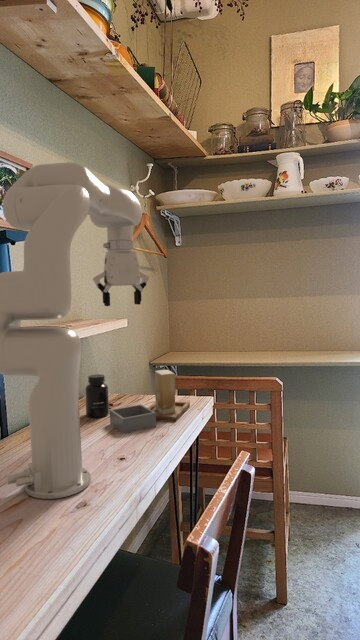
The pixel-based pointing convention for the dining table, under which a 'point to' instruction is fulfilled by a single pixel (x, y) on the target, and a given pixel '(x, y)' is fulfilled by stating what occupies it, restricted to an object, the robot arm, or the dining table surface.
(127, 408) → the holder
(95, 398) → the supplement bottle
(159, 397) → the skincare box
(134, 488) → the dining table surface
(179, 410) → the tray
